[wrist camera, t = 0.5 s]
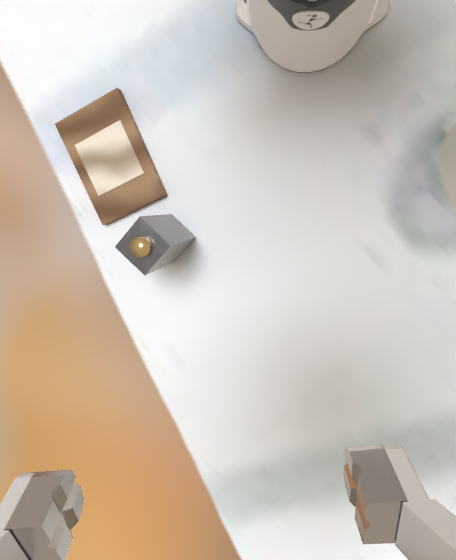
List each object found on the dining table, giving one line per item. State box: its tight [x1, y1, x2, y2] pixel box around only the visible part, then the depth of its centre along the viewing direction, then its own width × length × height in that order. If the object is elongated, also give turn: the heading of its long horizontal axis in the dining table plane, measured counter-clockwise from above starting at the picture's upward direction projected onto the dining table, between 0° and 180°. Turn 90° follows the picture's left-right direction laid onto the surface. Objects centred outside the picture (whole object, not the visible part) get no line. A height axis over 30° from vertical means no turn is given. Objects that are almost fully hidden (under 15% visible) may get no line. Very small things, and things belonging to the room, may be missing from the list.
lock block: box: [115, 214, 196, 275], centre depth 48 cm, size 5×5×13 cm
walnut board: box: [55, 88, 167, 225], centre depth 53 cm, size 16×11×1 cm
